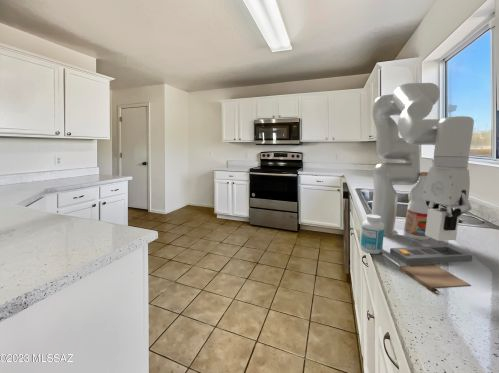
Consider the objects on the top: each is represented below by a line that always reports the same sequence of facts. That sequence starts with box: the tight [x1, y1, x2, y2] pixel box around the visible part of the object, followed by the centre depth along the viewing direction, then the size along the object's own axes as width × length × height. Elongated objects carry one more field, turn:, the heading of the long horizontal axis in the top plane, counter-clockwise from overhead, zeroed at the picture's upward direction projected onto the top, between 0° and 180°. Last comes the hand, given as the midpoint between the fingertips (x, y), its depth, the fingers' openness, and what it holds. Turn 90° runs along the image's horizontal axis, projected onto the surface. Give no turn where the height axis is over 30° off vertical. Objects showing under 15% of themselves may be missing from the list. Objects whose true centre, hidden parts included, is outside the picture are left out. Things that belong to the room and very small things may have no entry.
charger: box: [425, 207, 460, 242], centre depth 70 cm, size 4×6×9 cm
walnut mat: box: [399, 263, 471, 292], centre depth 74 cm, size 12×12×1 cm
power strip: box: [389, 244, 474, 265], centre depth 85 cm, size 8×24×4 cm, turn 96°
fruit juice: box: [403, 171, 431, 241], centre depth 102 cm, size 9×9×28 cm
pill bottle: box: [359, 214, 385, 255], centre depth 91 cm, size 8×7×14 cm
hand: (441, 226), depth 70 cm, fingers closed on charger, 4 cm apart
